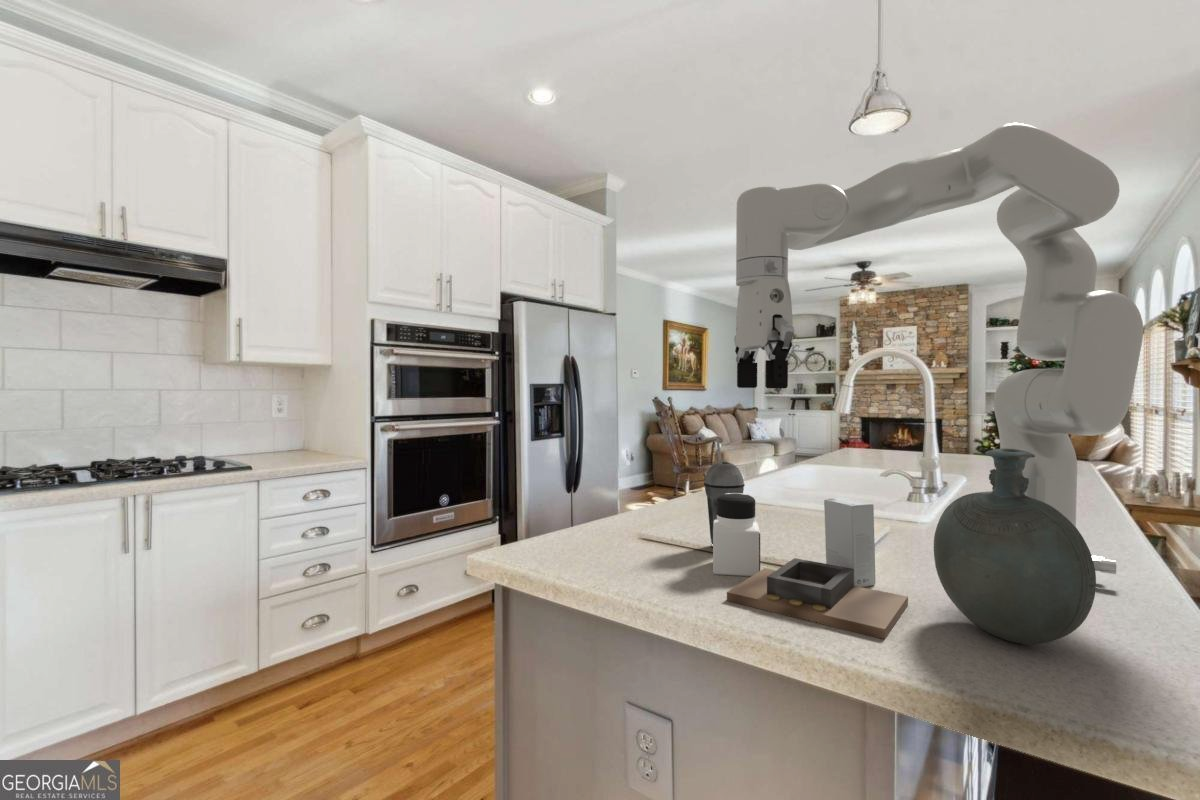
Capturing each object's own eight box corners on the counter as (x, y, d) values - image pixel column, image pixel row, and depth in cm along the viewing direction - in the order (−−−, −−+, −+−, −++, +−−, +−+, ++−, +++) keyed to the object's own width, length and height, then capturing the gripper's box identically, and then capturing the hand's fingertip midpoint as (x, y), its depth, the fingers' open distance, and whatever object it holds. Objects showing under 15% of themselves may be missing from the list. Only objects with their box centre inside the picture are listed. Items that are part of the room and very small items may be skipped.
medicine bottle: (760, 577, 90) (760, 499, 90) (713, 574, 91) (712, 498, 91) (757, 563, 97) (757, 491, 97) (713, 561, 98) (713, 490, 98)
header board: (907, 605, 78) (908, 577, 78) (884, 639, 68) (885, 607, 68) (764, 575, 91) (764, 552, 90) (726, 600, 80) (726, 574, 80)
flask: (1002, 671, 60) (1005, 459, 60) (918, 607, 77) (919, 442, 77) (1118, 672, 60) (1122, 458, 59) (1008, 608, 77) (1010, 441, 76)
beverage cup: (749, 553, 103) (749, 439, 102) (707, 553, 103) (707, 439, 102) (739, 541, 110) (739, 435, 109) (700, 542, 110) (700, 436, 109)
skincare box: (877, 585, 86) (877, 503, 86) (852, 589, 84) (853, 506, 84) (846, 572, 92) (846, 496, 91) (822, 576, 90) (823, 498, 90)
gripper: (815, 263, 80) (814, 388, 81) (759, 284, 97) (758, 387, 98) (764, 261, 79) (764, 388, 79) (716, 283, 96) (715, 387, 96)
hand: (761, 387), depth 88 cm, fingers open, 9 cm apart
